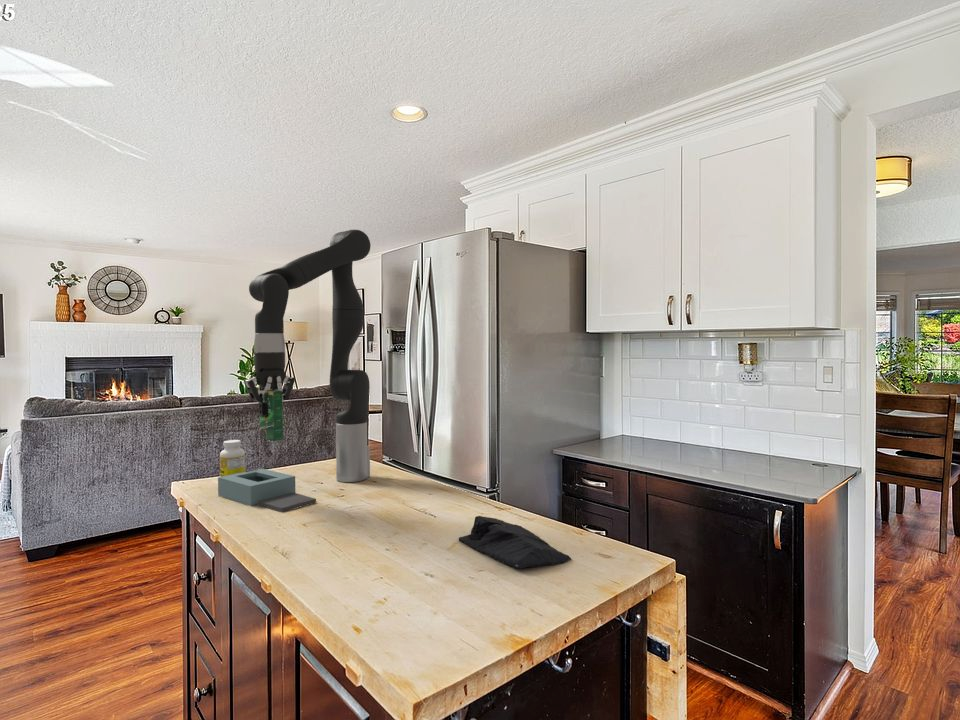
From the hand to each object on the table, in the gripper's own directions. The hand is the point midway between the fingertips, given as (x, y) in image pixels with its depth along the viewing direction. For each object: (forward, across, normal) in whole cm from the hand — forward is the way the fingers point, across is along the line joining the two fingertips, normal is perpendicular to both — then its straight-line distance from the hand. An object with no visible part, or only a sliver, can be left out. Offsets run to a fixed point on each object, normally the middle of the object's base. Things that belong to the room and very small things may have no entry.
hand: (270, 416), depth 141 cm
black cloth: (+23, -9, +70) cm, 74 cm away
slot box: (+22, 0, -7) cm, 23 cm away
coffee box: (+6, 0, 0) cm, 6 cm away
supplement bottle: (+22, -1, -23) cm, 32 cm away
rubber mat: (+22, 0, +7) cm, 23 cm away
